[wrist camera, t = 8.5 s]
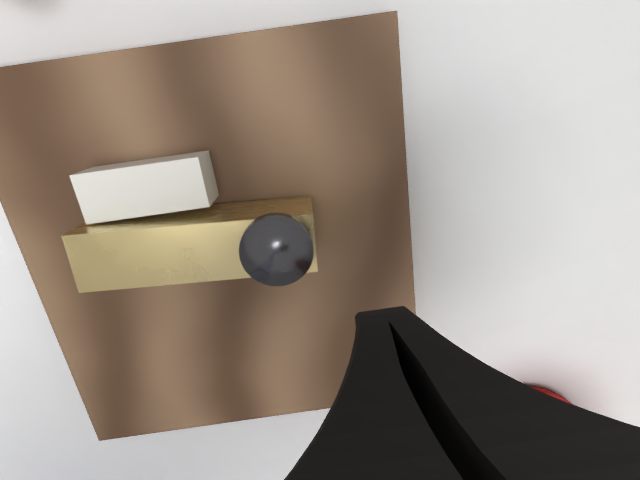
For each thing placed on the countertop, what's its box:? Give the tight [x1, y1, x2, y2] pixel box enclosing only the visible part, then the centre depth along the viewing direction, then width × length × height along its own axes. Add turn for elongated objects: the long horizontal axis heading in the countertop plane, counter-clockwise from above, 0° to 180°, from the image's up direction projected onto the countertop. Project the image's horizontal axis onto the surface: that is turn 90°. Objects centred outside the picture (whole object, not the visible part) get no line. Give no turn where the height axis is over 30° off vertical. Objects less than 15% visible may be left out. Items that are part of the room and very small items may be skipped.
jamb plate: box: [0, 11, 416, 441], centre depth 20 cm, size 18×19×1 cm
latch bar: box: [61, 196, 318, 293], centre depth 17 cm, size 10×3×4 cm, turn 94°
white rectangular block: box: [69, 150, 219, 225], centre depth 17 cm, size 5×2×2 cm, turn 98°
